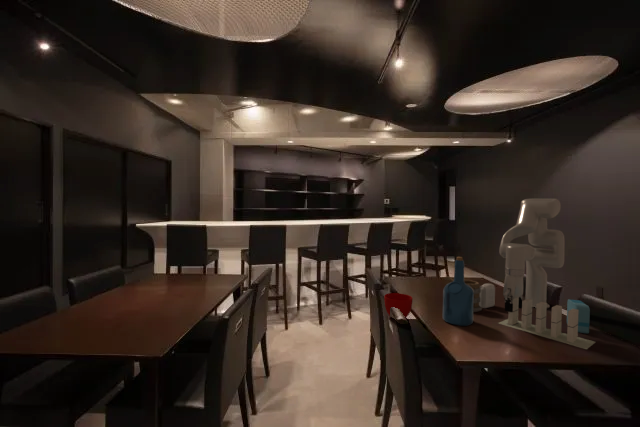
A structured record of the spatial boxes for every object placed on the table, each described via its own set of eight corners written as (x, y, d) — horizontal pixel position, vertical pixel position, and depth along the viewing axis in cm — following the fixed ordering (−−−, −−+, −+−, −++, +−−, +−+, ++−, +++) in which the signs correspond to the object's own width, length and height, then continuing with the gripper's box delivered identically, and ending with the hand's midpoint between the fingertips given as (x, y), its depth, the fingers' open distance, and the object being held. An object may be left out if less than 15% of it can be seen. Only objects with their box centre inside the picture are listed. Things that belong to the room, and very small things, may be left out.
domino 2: (526, 325, 143) (527, 298, 143) (531, 326, 142) (532, 299, 141) (521, 327, 139) (522, 300, 139) (525, 329, 138) (526, 301, 138)
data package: (589, 335, 134) (590, 307, 134) (576, 333, 136) (577, 305, 135) (578, 325, 145) (579, 299, 145) (566, 324, 147) (567, 298, 147)
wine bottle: (449, 314, 156) (451, 254, 155) (477, 322, 147) (480, 257, 146) (436, 321, 146) (438, 256, 146) (466, 329, 137) (468, 260, 136)
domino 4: (555, 333, 134) (556, 305, 134) (561, 334, 133) (562, 306, 133) (550, 336, 131) (551, 307, 130) (555, 337, 129) (557, 308, 129)
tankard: (485, 309, 166) (486, 281, 166) (472, 313, 159) (473, 283, 158) (450, 299, 182) (451, 273, 182) (437, 303, 175) (438, 276, 175)
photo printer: (487, 304, 176) (488, 281, 176) (495, 306, 172) (496, 283, 172) (477, 306, 170) (478, 283, 170) (485, 309, 167) (486, 285, 166)
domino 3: (540, 328, 139) (541, 301, 138) (545, 330, 137) (546, 302, 137) (535, 331, 135) (536, 304, 135) (540, 333, 134) (541, 305, 133)
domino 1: (513, 321, 148) (514, 295, 147) (517, 322, 146) (518, 296, 146) (507, 323, 144) (508, 297, 144) (512, 325, 142) (513, 298, 142)
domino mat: (509, 319, 152) (509, 318, 152) (595, 342, 126) (595, 341, 126) (497, 324, 145) (497, 323, 145) (586, 350, 119) (586, 349, 119)
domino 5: (571, 337, 130) (573, 308, 130) (577, 339, 128) (578, 309, 128) (566, 341, 126) (568, 311, 126) (572, 342, 125) (573, 312, 125)
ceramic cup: (410, 312, 159) (411, 292, 159) (412, 323, 142) (413, 301, 142) (384, 309, 162) (384, 290, 161) (383, 320, 145) (384, 299, 145)
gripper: (514, 269, 153) (512, 304, 153) (497, 272, 142) (495, 310, 143) (531, 271, 147) (530, 308, 147) (515, 276, 136) (514, 315, 137)
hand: (513, 309), depth 145 cm, fingers open, 9 cm apart
